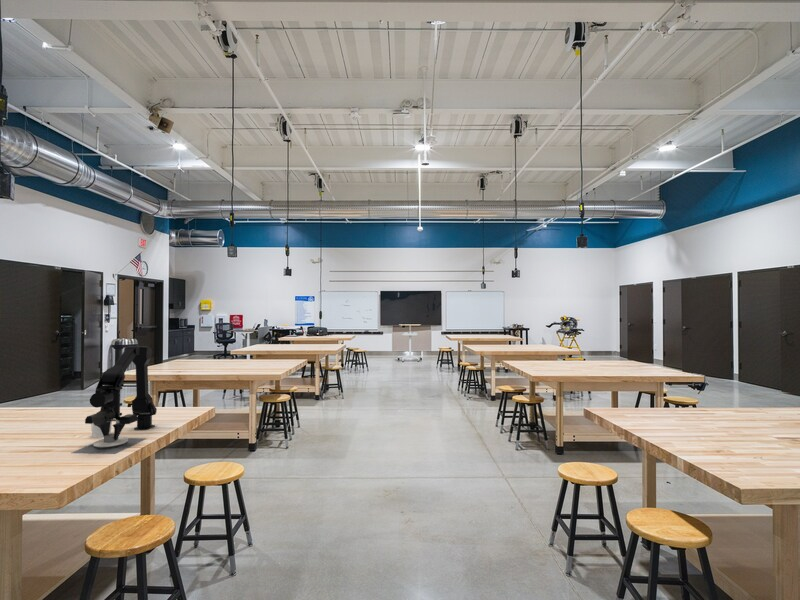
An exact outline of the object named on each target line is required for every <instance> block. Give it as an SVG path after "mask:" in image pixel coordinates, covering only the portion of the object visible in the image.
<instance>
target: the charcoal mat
mask: <svg viewBox="0 0 800 600" xmlns="http://www.w3.org/2000/svg"><path fill="white" fill-rule="evenodd" d="M127 438H128V441H127V442H126V443H124V444H121V445H117V446H112V447H94V446H93V443H92V444H90V445H87V446H84V447H81V448H79V449H76V450H74V451H71V454H99V455H100V454H101V455H102V454H103V455H116V454H118V453H120V452H122V451H124V450H127V449H129V448H131V447H133V446H135V445H137V444H139V443H141V442H143V441H145V440H148V437H147V438H145V437H140V438H139V437H138V438H136V437H127Z"/></svg>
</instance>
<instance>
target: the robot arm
mask: <svg viewBox="0 0 800 600" xmlns="http://www.w3.org/2000/svg"><path fill="white" fill-rule="evenodd" d="M152 354H153V349H152V348H151V347H150V346H148V345H144V346H142V345H141V346H140V345H128V346H125V347H124V351H123V352H122V354H121V355H120V357H118V360H117V361H116V362H115V364H114V365H113V366H111V367H110V368H107V369H106V370H105V371H104V372H103V373H102V374H101V376H100V377H99V381H98V383H97V384H96V388H95V393H93V394H92V395H91V396H90V397H89V404H90V406H92V407H94V408H100V410H99V411H98V412H96V413H94V414H91V415H87V416H86V417H85V419H84V424H86V425H87V424H88V425H89V424H90V425H91V424H92V423H93V424H94V425H95V426H98V427H99V428H100V429H101V431H102V433H103V436H106V435H108V434H109V430H110V423H111V421H112V422H115V423H114V424H112V426H111V427H113V429H114V431H113V434H114V440H117V438H118V437H120V435H121V433H122V431H123V430H124V427H125V426H126V425H130V424H133V423H135V422H136V426H135V427H134V428H133V429H134V430H149V429H151V428H153V427H155V425H156V424H152V423H153V416H155V415H157V411H158V410H157V407H156V405H155V404H154V401H153V398H152V395H150V393H149V372H148V370H149V369H148V364H149V362H150V361H151V359H152ZM131 363H133V364H134V365H135V383H136V384H135V386H136V387H135V390H136V396H135V397H134V399H133V400H132V401H131V405H132V406H131V411H132V414H130V413H129V414H126V415H123V412H121V406H123V403H122V402H121V390H123V386H122V384H123V383H124V381H125V379H126V375H125V374H126V371H127V370H128V368H129V366H130V365H131ZM122 415H123V416H122Z"/></svg>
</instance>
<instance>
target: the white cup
mask: <svg viewBox="0 0 800 600" xmlns="http://www.w3.org/2000/svg"><path fill="white" fill-rule="evenodd" d="M90 425H91V426H90V427H91V437H92V438H93V439H103V438H104V436H103V433H102V431H101V429H100V428H99V427H98V426H95V425H94V424H93V423H92V424H90ZM112 425H113V421H111V423H110V430H109V434H112V433H111V432H112V427H113V426H112Z"/></svg>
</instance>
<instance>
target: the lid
mask: <svg viewBox="0 0 800 600" xmlns="http://www.w3.org/2000/svg"><path fill="white" fill-rule="evenodd" d="M128 438H129V437H126V436H119V437H118V438H117V440H114V433H111V434H108V435H106V436H104V437H103V438H101V439H98V440H95V441H94V442H92V444H93V446H94V447H112V446H117V445H121V444H124V443H126V442H127V441H128Z"/></svg>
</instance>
